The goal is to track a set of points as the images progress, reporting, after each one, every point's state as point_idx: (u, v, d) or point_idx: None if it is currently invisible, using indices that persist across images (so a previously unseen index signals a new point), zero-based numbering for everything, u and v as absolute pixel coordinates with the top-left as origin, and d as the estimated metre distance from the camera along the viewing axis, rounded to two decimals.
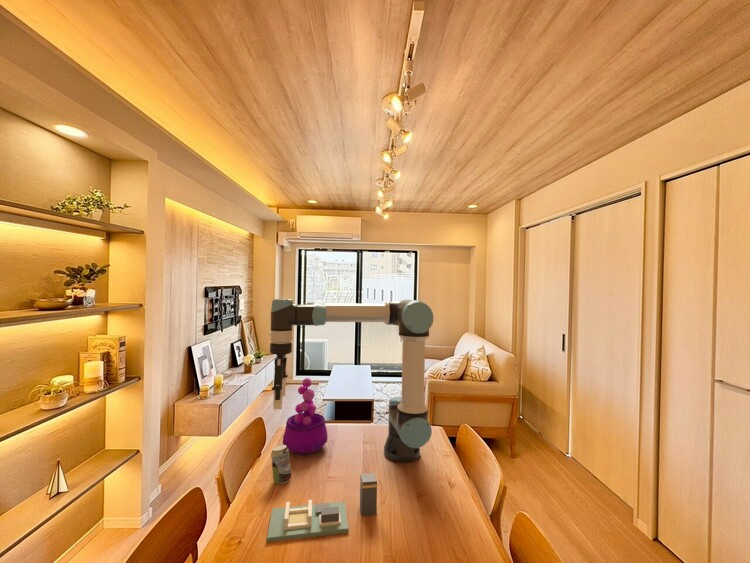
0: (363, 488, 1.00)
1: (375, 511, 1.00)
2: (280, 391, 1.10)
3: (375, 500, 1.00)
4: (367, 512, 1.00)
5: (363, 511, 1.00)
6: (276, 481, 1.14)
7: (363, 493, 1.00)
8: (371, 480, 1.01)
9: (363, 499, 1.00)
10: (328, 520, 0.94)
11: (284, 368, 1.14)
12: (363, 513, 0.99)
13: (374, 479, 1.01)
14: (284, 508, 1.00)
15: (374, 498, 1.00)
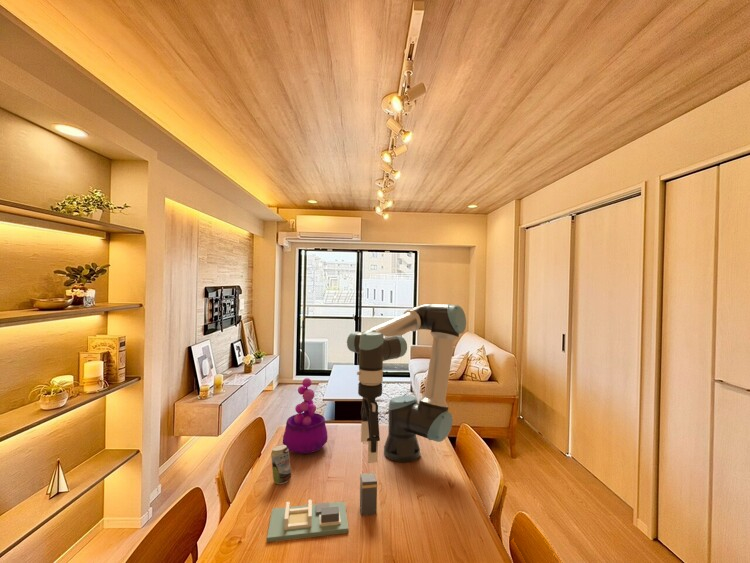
0: (363, 488, 1.00)
1: (375, 511, 1.00)
2: None
3: (375, 500, 1.00)
4: (367, 512, 1.00)
5: (363, 511, 1.00)
6: (276, 481, 1.14)
7: (363, 493, 1.00)
8: (371, 480, 1.01)
9: (363, 499, 1.00)
10: (328, 520, 0.94)
11: None
12: (363, 513, 0.99)
13: (374, 479, 1.01)
14: (284, 508, 1.00)
15: (374, 498, 1.00)
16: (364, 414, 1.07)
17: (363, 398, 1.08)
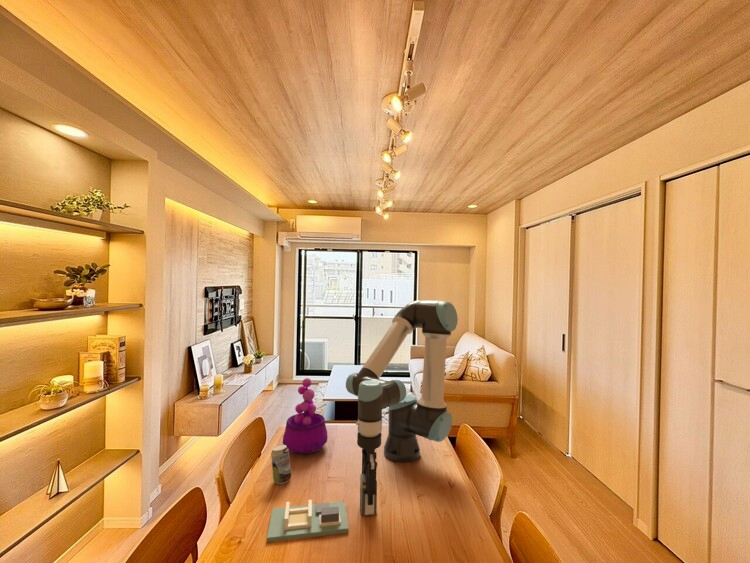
0: (363, 488, 1.00)
1: (375, 511, 1.00)
2: None
3: (375, 500, 1.00)
4: None
5: (363, 511, 1.00)
6: (276, 481, 1.14)
7: (363, 493, 1.00)
8: None
9: (363, 499, 1.00)
10: (328, 520, 0.94)
11: None
12: (363, 513, 0.99)
13: None
14: (284, 508, 1.00)
15: (374, 497, 1.00)
16: (365, 470, 1.04)
17: None
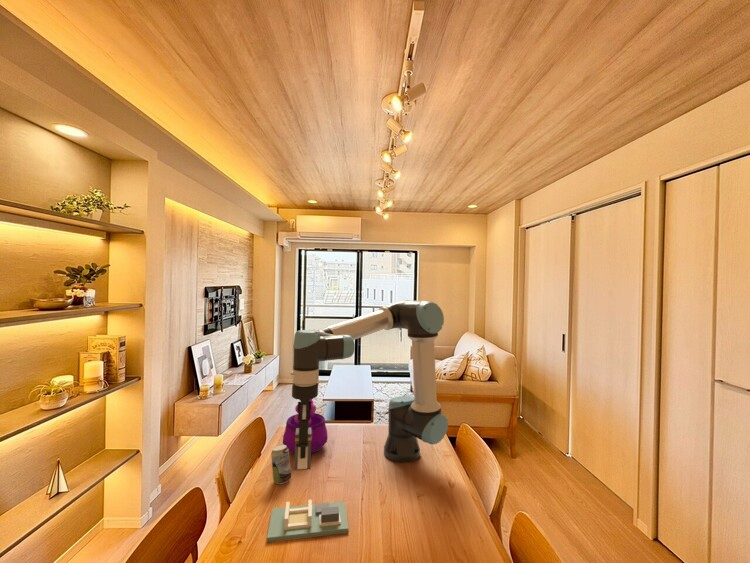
0: (296, 441, 0.94)
1: (309, 466, 0.94)
2: (305, 447, 0.94)
3: (309, 454, 0.94)
4: None
5: (296, 465, 0.94)
6: (276, 481, 1.14)
7: None
8: None
9: (296, 453, 0.94)
10: (328, 520, 0.94)
11: (309, 418, 0.94)
12: (296, 467, 0.94)
13: (309, 432, 0.96)
14: (284, 508, 1.00)
15: None
16: None
17: None
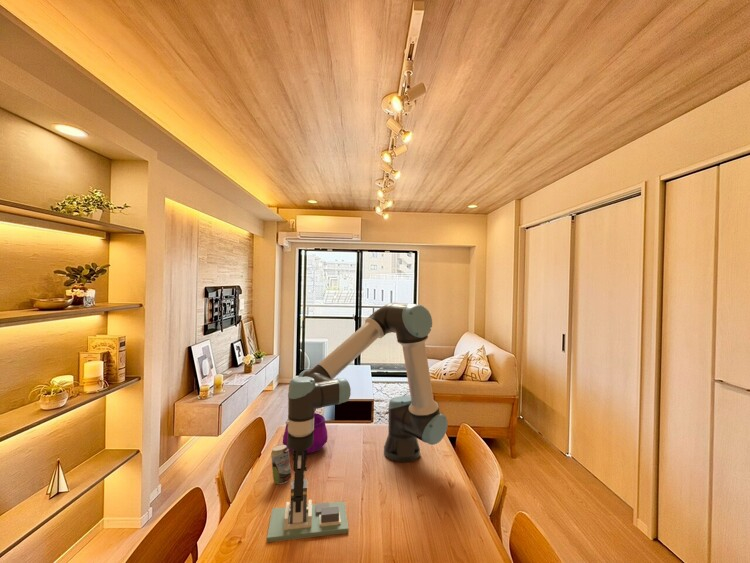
0: (291, 495, 0.93)
1: (305, 520, 0.94)
2: (301, 500, 0.90)
3: (305, 508, 0.94)
4: None
5: (291, 520, 0.93)
6: (276, 481, 1.14)
7: (291, 501, 0.93)
8: None
9: (291, 507, 0.93)
10: (328, 520, 0.94)
11: (305, 468, 0.93)
12: (291, 522, 0.93)
13: (304, 486, 0.95)
14: (284, 508, 1.00)
15: (303, 505, 0.94)
16: None
17: None
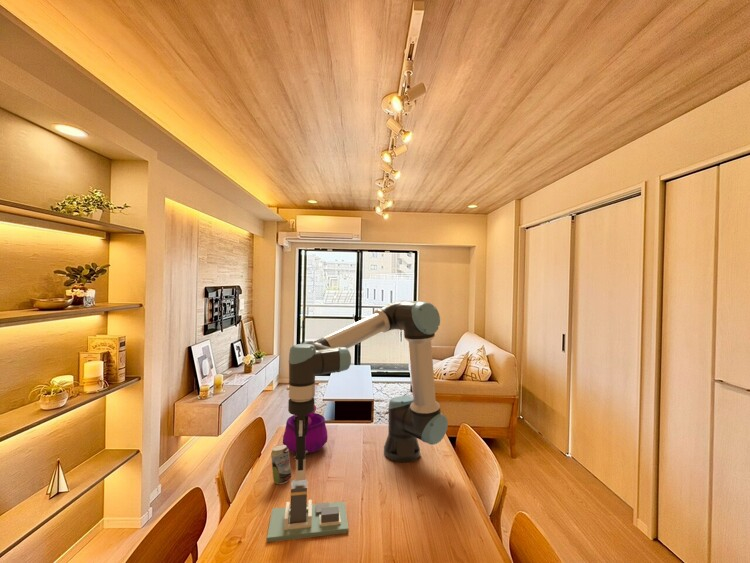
0: (291, 495, 0.93)
1: (305, 520, 0.94)
2: (303, 459, 0.96)
3: (305, 508, 0.94)
4: (296, 521, 0.93)
5: (291, 520, 0.93)
6: (276, 481, 1.14)
7: (291, 501, 0.93)
8: (301, 486, 0.95)
9: (291, 507, 0.93)
10: (328, 520, 0.94)
11: (306, 433, 0.95)
12: (291, 522, 0.93)
13: (304, 486, 0.95)
14: (284, 508, 1.00)
15: (303, 505, 0.94)
16: None
17: None
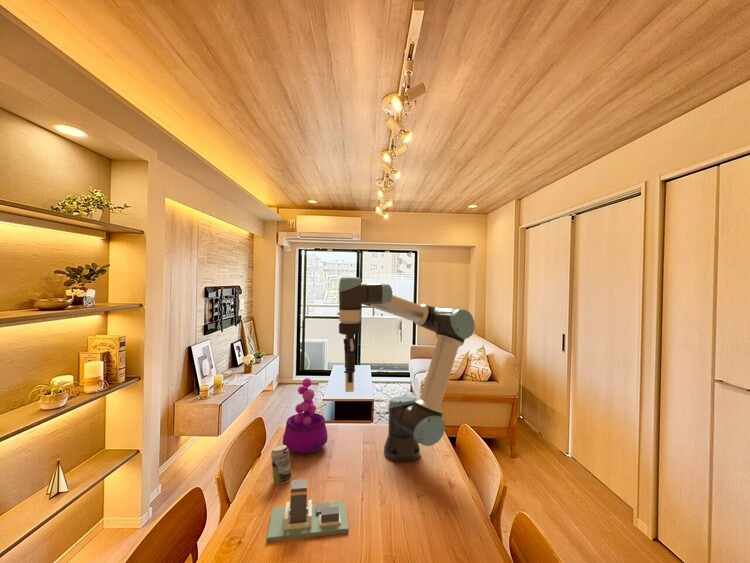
0: (291, 495, 0.93)
1: (305, 520, 0.94)
2: (352, 374, 1.12)
3: (305, 508, 0.94)
4: (296, 521, 0.93)
5: (291, 520, 0.93)
6: (276, 481, 1.14)
7: (291, 501, 0.93)
8: (301, 486, 0.95)
9: (291, 507, 0.93)
10: (328, 520, 0.94)
11: None
12: (291, 522, 0.93)
13: (304, 486, 0.95)
14: (284, 508, 1.00)
15: (303, 505, 0.94)
16: None
17: None
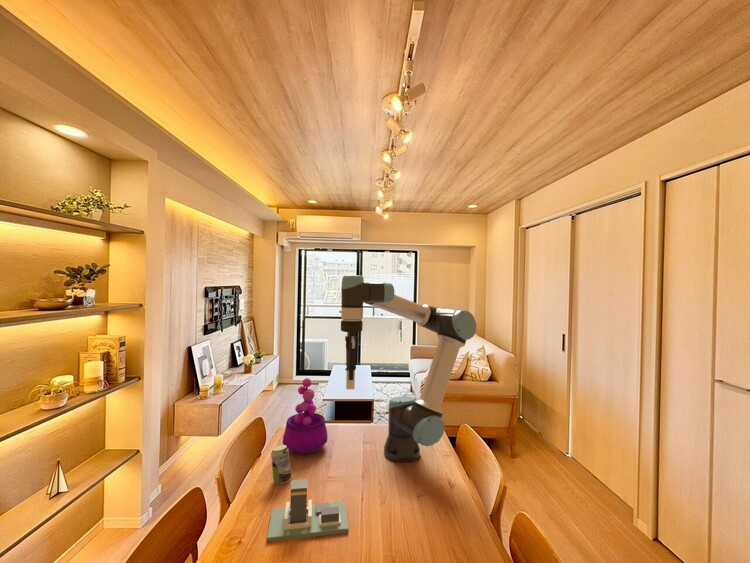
0: (291, 495, 0.93)
1: (305, 520, 0.94)
2: (353, 371, 1.12)
3: (305, 508, 0.94)
4: (296, 521, 0.93)
5: (291, 520, 0.93)
6: (276, 481, 1.14)
7: (291, 501, 0.93)
8: (301, 486, 0.95)
9: (291, 507, 0.93)
10: (328, 520, 0.94)
11: None
12: (291, 522, 0.93)
13: (304, 486, 0.95)
14: (284, 508, 1.00)
15: (303, 505, 0.94)
16: (348, 357, 1.14)
17: None
